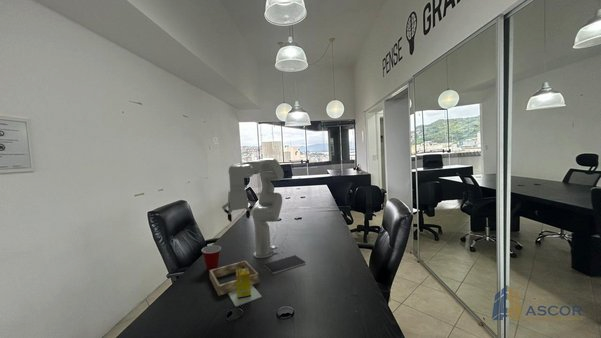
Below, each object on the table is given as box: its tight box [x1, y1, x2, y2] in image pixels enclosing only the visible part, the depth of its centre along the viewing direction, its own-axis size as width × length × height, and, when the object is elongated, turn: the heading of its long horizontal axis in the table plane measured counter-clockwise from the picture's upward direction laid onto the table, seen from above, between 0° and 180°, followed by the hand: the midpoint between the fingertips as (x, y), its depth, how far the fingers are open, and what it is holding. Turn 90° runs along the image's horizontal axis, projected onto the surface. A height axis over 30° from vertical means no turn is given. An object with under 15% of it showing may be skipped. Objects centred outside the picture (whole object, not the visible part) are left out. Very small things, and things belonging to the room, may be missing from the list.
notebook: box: [263, 254, 306, 274], centre depth 142 cm, size 13×2×21 cm
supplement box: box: [235, 268, 251, 299], centre depth 112 cm, size 6×6×11 cm
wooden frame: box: [208, 260, 260, 297], centre depth 127 cm, size 20×20×4 cm
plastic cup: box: [201, 244, 222, 271], centre depth 142 cm, size 11×11×12 cm
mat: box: [227, 284, 262, 307], centre depth 112 cm, size 12×12×1 cm
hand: (239, 219), depth 132 cm, fingers open, 9 cm apart
